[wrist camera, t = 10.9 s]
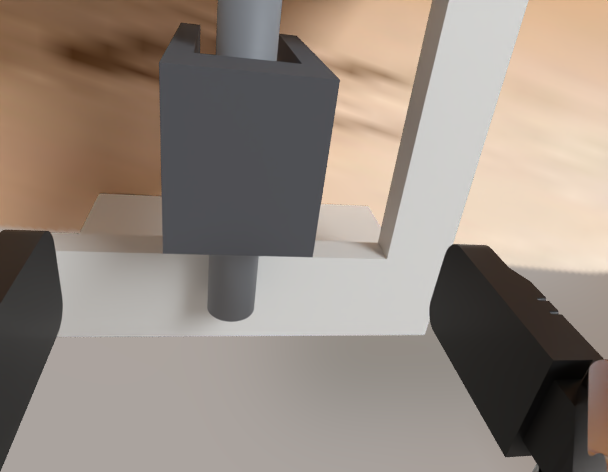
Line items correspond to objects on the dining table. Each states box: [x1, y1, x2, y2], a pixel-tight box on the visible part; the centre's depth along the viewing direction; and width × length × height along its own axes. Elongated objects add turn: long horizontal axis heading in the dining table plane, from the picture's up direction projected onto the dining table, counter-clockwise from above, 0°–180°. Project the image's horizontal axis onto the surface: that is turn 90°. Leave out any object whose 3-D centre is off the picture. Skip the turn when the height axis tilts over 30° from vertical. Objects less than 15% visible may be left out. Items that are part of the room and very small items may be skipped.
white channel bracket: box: [50, 0, 528, 337], centre depth 23 cm, size 20×18×14 cm
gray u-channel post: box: [159, 23, 340, 257], centre depth 19 cm, size 6×5×9 cm
